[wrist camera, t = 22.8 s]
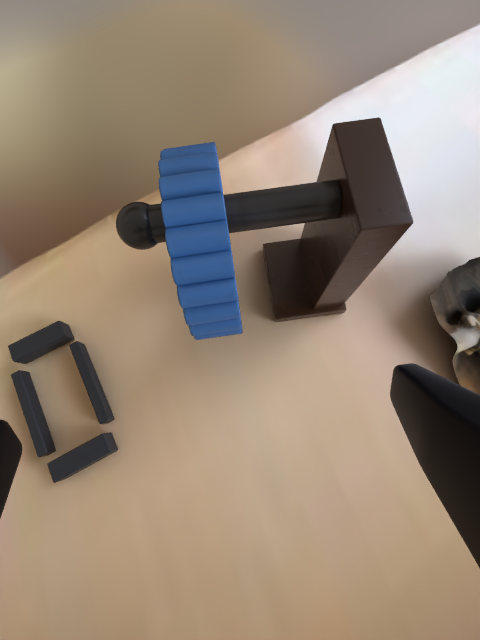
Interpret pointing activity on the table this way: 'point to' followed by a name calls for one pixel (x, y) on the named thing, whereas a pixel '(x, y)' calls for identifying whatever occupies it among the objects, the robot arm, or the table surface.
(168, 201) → the blue ridged ring
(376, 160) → the hook stand
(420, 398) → the robot arm
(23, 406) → the tape cradle
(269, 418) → the table surface
